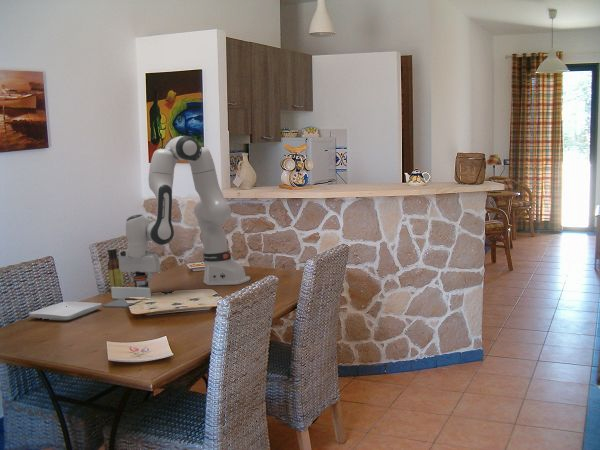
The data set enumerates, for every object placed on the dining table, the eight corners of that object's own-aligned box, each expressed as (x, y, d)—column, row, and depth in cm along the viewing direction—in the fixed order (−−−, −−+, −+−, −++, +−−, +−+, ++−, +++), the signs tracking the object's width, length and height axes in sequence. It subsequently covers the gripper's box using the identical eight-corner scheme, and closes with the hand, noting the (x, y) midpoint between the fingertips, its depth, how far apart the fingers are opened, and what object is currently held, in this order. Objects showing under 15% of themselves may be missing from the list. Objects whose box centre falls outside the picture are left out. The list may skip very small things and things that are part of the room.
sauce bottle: (126, 288, 345) (122, 247, 342) (122, 291, 339) (117, 249, 336) (113, 289, 346) (108, 247, 343) (108, 291, 340) (103, 250, 337)
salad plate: (104, 310, 304) (103, 302, 304) (68, 323, 285) (67, 315, 285) (65, 308, 313) (64, 300, 313) (28, 321, 294) (27, 313, 294)
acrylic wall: (151, 298, 318) (149, 287, 317) (149, 299, 316) (148, 288, 316) (113, 297, 326) (112, 286, 325) (112, 298, 325) (110, 287, 324)
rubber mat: (142, 300, 315) (142, 299, 315) (125, 307, 304) (125, 306, 304) (119, 300, 320) (119, 298, 320) (102, 306, 309) (102, 305, 309)
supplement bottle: (136, 294, 330) (134, 269, 328) (150, 293, 330) (147, 268, 329) (135, 297, 324) (132, 272, 322) (148, 295, 324) (145, 271, 323)
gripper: (161, 250, 323) (164, 280, 325) (124, 250, 331) (127, 279, 333) (153, 252, 317) (156, 283, 319) (115, 252, 326) (118, 282, 327)
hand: (141, 281), depth 326 cm, fingers open, 7 cm apart
